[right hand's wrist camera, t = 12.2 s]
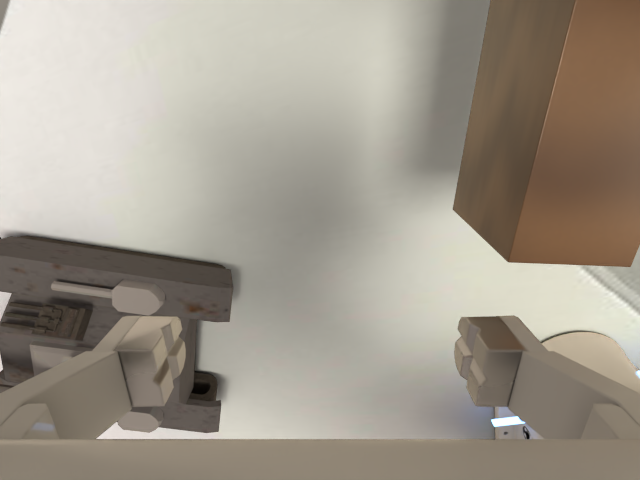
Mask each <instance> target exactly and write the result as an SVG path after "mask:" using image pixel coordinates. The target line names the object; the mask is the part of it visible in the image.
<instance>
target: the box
mask: <svg viewBox="0 0 640 480" xmlns="http://www.w3.org/2000/svg"><path fill="white" fill-rule="evenodd" d="M453 210H454V211H455V212H456V213H457V214H458V215H459V216H460V217H461V218H462V219H463V220H464V221H465V222H466V223H467V224H469V225H470V226H471V227H472V228H473V229H474V230H475V231H476V232H477V233H478V234H479V235H480V236H481V237H482V238H483V239H484V240H485V241H486V242H487V243H488V244H490V245H491V246H492V247H493V248H494V249H495V250H496V251H497V252H498V253H499V254H500V255H501V256H502V257H503V258H504V259H505V260H506V261H507V262H517V263H543V264H569V265H595V266H621V267H631V265H632V262H633V260H634V257H635V255H636V252H637V250H638V247H639V245H640V0H491V1H490V7H489V12H488V18H487V23H486V29H485V35H484V40H483V46H482V51H481V57H480V62H479V68H478V73H477V79H476V84H475V90H474V95H473V101H472V106H471V112H470V117H469V123H468V128H467V134H466V139H465V145H464V150H463V156H462V161H461V167H460V172H459V178H458V183H457V189H456V194H455V200H454V205H453Z"/></svg>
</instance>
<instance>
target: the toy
mask: <svg viewBox="0 0 640 480" xmlns="http://www.w3.org/2000/svg"><path fill="white" fill-rule="evenodd" d="M0 291H1V292H8V293H12V294H11V297H10V299H9V302H8V304H7V306H6V309H5V311H4V314H3V316H2V319H1V321H0V354H1V360H2V365H3V370H2V371H1V372H0V393H2V392H4V391H6V390H8V389H10V388H12V387H14V386H16V385H18V384H20V383H22V382H24V381H26V380H28V379H30V378H32V377H34V376H36V375H39V374H41V373H43V372H45V371H47V370H49V369H51V368H53V367H55V366H57V365H59V364H61V363H63V362H65V361H67V360H69V359H71V358H73V357H75V356H77V355H79V354H81V353H83V352H85V351H92V350H93V349H94V348H95V347H96V346H97V345H98V344H99V342H100V341H101V340H102V339H103V338H104V337H105V336H106V335H107V334H108V332H109V331H110V330H111V329H112V328H113V327H114V326H115V325H116V324H117V322H118V321H119V320H120V319H121V318H122V317H125V316H171V317H178V318H179V319H180V321H181V326H182V331H181V332H180V334H179V337H180V338H181V339H182V340H183V341H184V342H185V349H186V358H185V362H184V367H183V369H182V372H181V374H180V375H179V376H178V377H177V378H175V379H174V380H173V386H174V388H173V390H172V392H171V394H170V396H169V398H168V400H167V402H166V404H165V406H152V407H132V409H131V410H130V411H129V412H128V413H126V414H125V415H124V416H123V417H122V418H120V419H119V420H118V421H117V422H118V425H119V426H120V427H121V428H122V429H124V430H132V431H141V432H149V433H150V432H152V431H154V430H156V429H157V428H158V427H162V428H170V429H178V430H186V431H195V432H203V433H211V432H218V431H219V421H220V412H221V400H219V401H216V393H217V380H216V378H215V377H214V376H213V375H210V374H203V373H195V372H194V365H195V347H196V329H197V320H205V321H212V322H230V312H231V302H232V292H233V284H232V277H231V270H229V269H226V268H225V267H223V266H222V265H218V264H212V263H205V262H199V261H192V260H185V259H179V258H172V257H165V256H159V255H152V254H145V253H139V252H132V251H125V250H119V249H112V248H105V247H99V246H92V245H85V244H79V243H72V242H65V241H59V240H52V239H45V238H39V237H32V236H21V237H7V238H3V239H1V237H0Z"/></svg>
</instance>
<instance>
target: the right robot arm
mask: <svg viewBox="0 0 640 480" xmlns="http://www.w3.org/2000/svg"><path fill="white" fill-rule="evenodd" d="M181 331H182V326H181V321H180V319H179V318H178V317H171V316H125V317H122V318H121V319H120V320H119V321H118V322H117V324H116V325H115V326H114V327H113V328H112V329H111V330H110V331H109V332H108V334H107V335H106V336H105V337H104V338H103V339H102V340H101V341H100V342H99V344H98V345H97V346H96V347H95V348H94V349H93V350H92V351H85V352H83V353H81V354H79V355H77V356H75V357H73V358H71V359H69V360H67V361H65V362H63V363H61V364H59V365H57V366H55V367H53V368H51V369H49V370H47V371H45V372H43V373H41V374H39V375H36V376H34V377H32V378H30V379H28V380H26V381H24V382H22V383H20V384H18V385H16V386H14V387H12V388H10V389H8V390H6V391H4V392H2V393H0V480H640V371H639V370H638V369H637V368H636V367H634V365H633V364H632V363H631V361H630V360H629V359H628V357H627V356H626V355H625V353H624V352H623V350H622V348H621V347H620V346H619V345H618V344H617V343H616V342H615V341H614V340H612V339H611V338H609V337H607V336H604V335H601V334H598V333H592V332H573V333H568V334H563V335H560V336H556V337H554V338H551V339H549V340H547V341H545V342H543V343H541V342H540V341H539V340H538V339H537V338H536V337H535V336H534V335H533V334H532V332H531V331H530V330H529V329H528V328H527V327H526V326H525V325H524V323H523V322H522V321H521V320H520V319H519V318H518V317H516V316H496V317H461V319H460V321H459V325H458V331H459V332H460V334H461V337H460V338H459V339H458V340H457V341H456V342H455V350H454V355H455V363H456V367H457V369H458V372H459V374H460V375H461V376H462V377H463V378H465V379H466V380H467V386H466V388H467V390H468V392H469V394H470V396H471V398H472V400H473V402H474V404H475V405H476V406H487V407H495V419H492V423H493V425H494V427H495V439H96V438H97V437H99V436H100V435H101V434H102V433H103V432H105V431H106V430H107V429H108V428H109V427H111V426H112V425H113V424H114V423H115V422H117V421H118V420H119V419H120V418H122V417H123V416H124V415H125V414H126V413H128V412H129V411H130V410H131V409H132V407H152V406H165V404H166V402H167V400H168V398H169V396H170V394H171V392H172V390H173V388H174V386H173V380H174V379H175V378H177V377H178V376H179V375H180V374H181V372H182V369H183V367H184V362H185V358H186V349H185V342H184V341H183V340H182V339H181V338H180V337H179V334H180V332H181Z"/></svg>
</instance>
